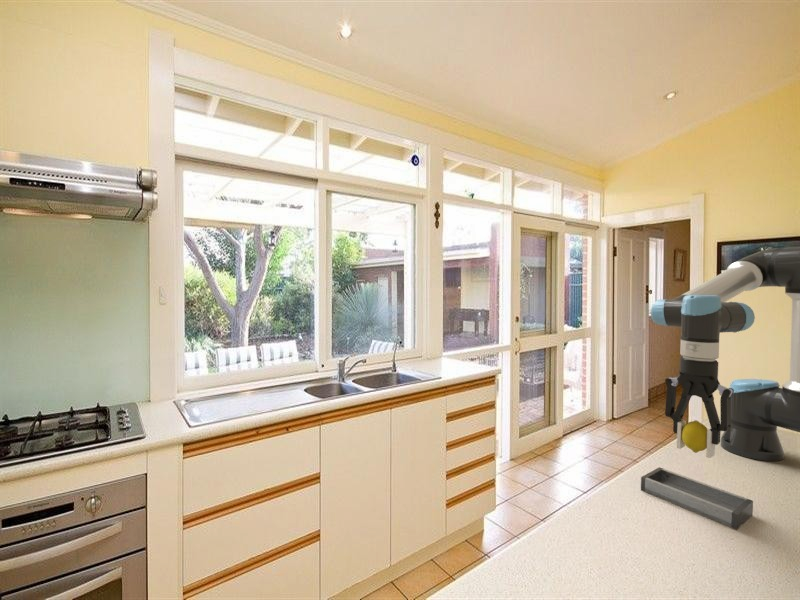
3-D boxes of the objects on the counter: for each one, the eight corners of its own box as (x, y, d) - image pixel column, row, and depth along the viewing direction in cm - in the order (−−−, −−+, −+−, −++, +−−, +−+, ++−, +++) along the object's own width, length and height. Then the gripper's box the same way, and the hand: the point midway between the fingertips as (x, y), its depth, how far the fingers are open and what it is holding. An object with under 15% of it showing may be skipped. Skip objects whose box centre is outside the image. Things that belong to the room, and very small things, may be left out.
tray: (658, 479, 109) (659, 467, 109) (752, 515, 93) (753, 500, 92) (640, 490, 104) (641, 477, 104) (736, 530, 87) (737, 514, 87)
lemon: (685, 455, 96) (686, 422, 96) (678, 446, 101) (679, 415, 101) (712, 459, 94) (714, 425, 94) (705, 450, 99) (706, 418, 99)
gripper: (650, 353, 102) (647, 442, 103) (741, 366, 87) (737, 470, 88) (663, 351, 106) (661, 435, 107) (753, 363, 91) (748, 462, 92)
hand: (695, 451), depth 98 cm, fingers closed on lemon, 5 cm apart
